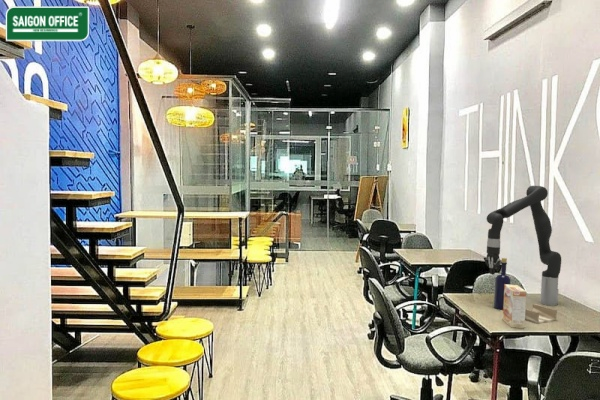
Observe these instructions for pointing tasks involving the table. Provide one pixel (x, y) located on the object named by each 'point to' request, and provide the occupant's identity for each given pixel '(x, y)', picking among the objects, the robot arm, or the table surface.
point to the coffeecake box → (514, 306)
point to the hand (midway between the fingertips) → (492, 274)
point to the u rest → (540, 314)
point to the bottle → (501, 286)
